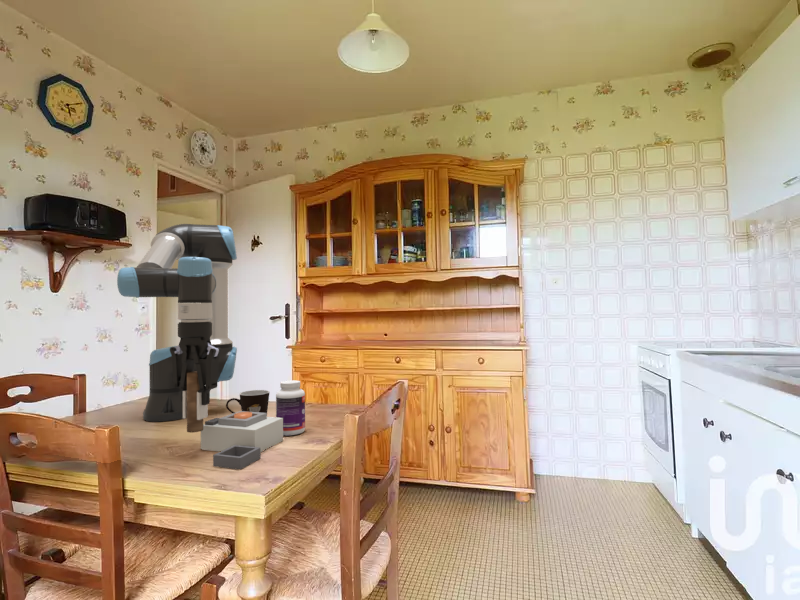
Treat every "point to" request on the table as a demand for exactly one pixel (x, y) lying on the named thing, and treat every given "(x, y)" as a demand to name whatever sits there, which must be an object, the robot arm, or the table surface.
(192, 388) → the dowel
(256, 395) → the coffee mug
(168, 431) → the table surface
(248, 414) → the plunger
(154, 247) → the robot arm
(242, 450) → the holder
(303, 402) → the pill bottle
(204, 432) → the white pedestal box
